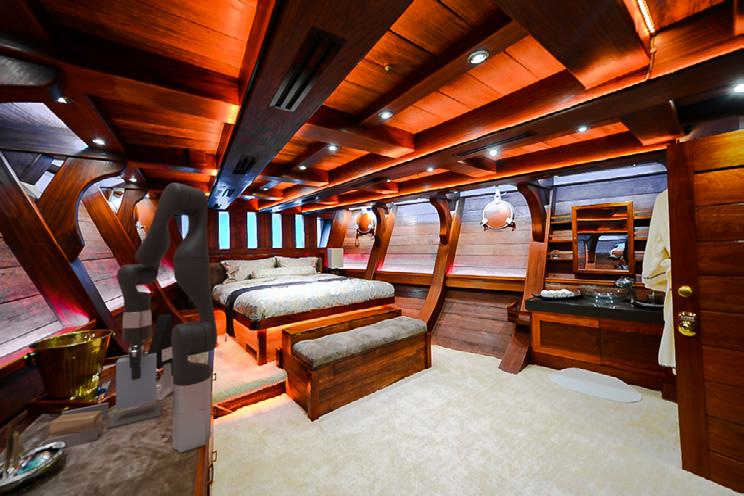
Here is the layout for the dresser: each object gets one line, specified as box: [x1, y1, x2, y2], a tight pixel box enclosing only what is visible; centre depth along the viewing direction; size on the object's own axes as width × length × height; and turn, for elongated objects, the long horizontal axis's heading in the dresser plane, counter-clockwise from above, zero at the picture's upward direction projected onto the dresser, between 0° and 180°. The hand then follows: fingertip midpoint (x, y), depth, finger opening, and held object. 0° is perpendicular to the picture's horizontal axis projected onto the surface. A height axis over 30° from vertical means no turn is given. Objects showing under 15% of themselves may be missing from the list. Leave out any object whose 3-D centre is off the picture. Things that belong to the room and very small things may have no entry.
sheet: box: [115, 353, 158, 411], centre depth 97 cm, size 4×10×15 cm, turn 122°
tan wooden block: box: [44, 401, 109, 448], centre depth 88 cm, size 13×11×5 cm
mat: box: [106, 402, 163, 431], centre depth 97 cm, size 10×13×1 cm
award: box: [146, 314, 173, 401], centre depth 113 cm, size 15×5×30 cm, turn 168°
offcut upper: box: [49, 411, 102, 436], centre depth 84 cm, size 4×10×4 cm, turn 104°
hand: (137, 376), depth 97 cm, fingers closed on sheet, 4 cm apart
